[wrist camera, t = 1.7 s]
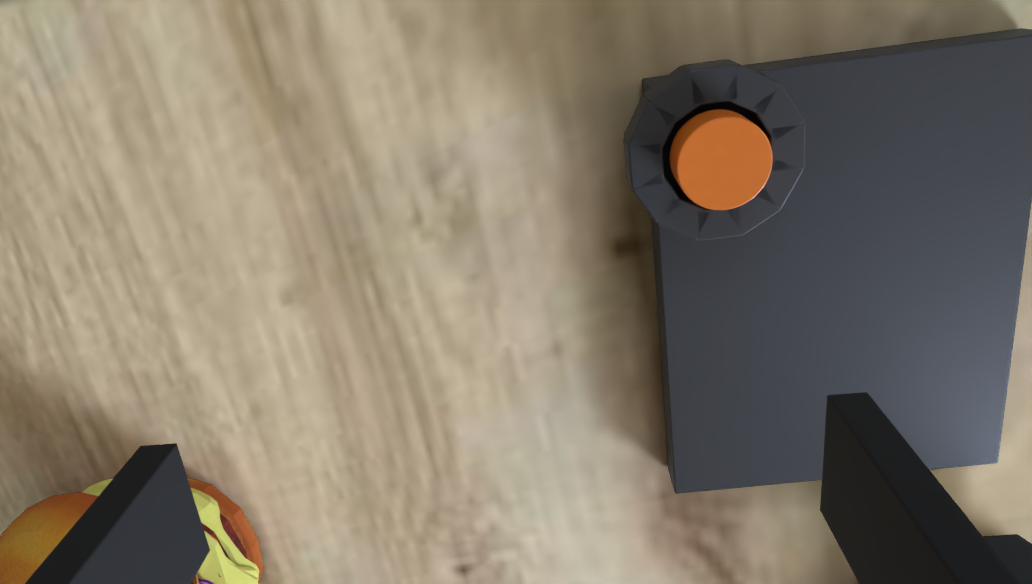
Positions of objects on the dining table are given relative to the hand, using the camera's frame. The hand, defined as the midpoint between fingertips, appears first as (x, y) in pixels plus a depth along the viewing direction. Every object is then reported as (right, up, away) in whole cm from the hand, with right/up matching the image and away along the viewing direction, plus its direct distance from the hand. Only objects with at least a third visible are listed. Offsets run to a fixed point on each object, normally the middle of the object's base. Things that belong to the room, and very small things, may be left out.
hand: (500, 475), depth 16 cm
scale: (+13, +4, +17) cm, 22 cm away
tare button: (+7, +9, +12) cm, 16 cm away
